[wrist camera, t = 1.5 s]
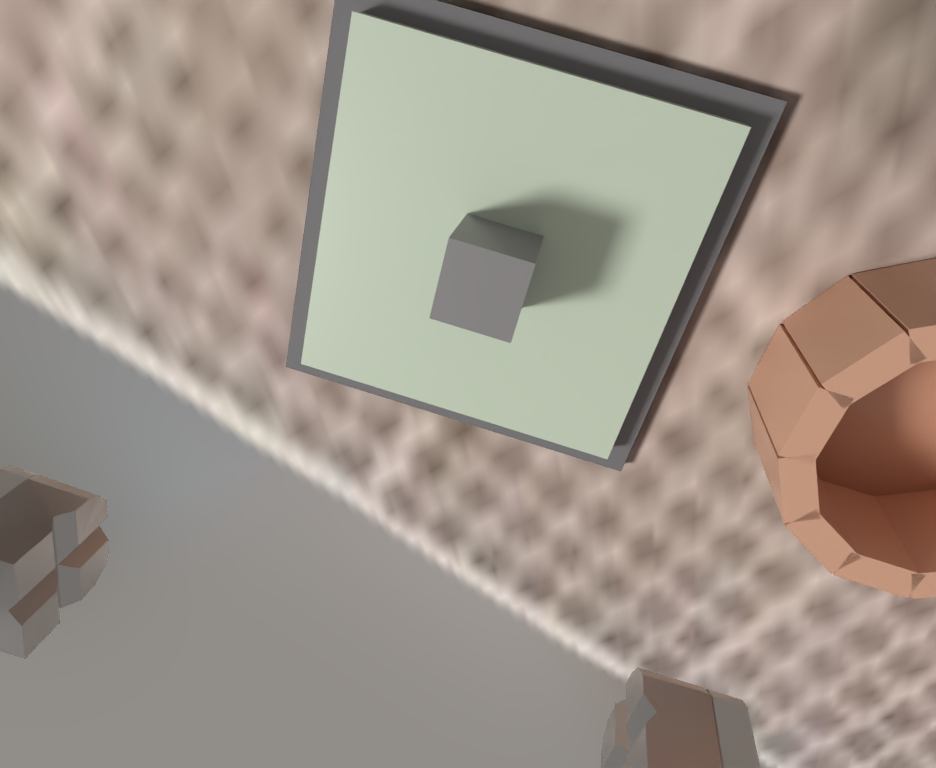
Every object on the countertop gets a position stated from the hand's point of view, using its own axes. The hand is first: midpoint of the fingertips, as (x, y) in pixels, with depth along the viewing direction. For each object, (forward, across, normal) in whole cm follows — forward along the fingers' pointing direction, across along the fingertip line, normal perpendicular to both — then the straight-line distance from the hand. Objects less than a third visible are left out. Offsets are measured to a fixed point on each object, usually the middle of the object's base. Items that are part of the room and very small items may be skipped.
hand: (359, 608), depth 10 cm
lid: (+19, +1, 0) cm, 19 cm away
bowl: (+20, -16, +2) cm, 26 cm away
